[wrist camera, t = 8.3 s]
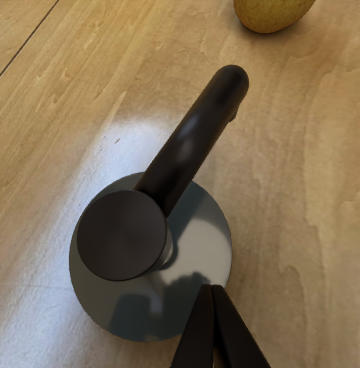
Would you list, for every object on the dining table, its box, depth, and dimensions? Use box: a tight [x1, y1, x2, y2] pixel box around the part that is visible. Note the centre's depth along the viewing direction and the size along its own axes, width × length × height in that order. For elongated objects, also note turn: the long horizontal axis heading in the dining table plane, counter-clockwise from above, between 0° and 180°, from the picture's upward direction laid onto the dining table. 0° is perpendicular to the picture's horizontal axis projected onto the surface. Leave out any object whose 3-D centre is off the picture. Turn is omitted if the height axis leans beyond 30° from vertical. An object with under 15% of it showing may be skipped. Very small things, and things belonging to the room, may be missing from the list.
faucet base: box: [69, 172, 232, 342], centre depth 15 cm, size 12×12×6 cm
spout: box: [77, 65, 249, 282], centre depth 12 cm, size 13×4×4 cm, turn 148°
